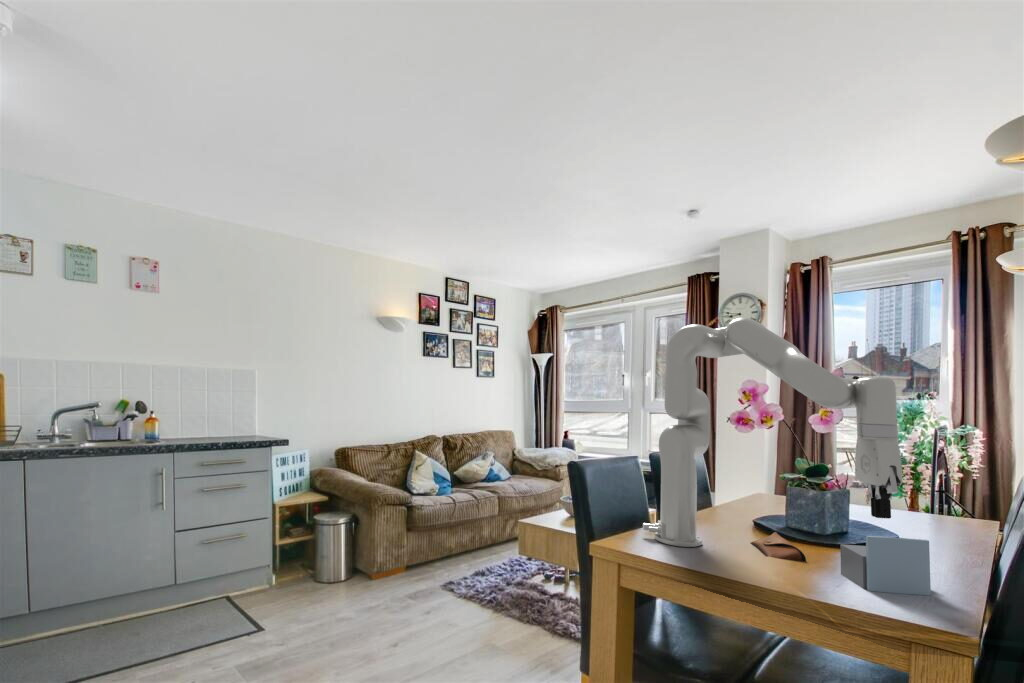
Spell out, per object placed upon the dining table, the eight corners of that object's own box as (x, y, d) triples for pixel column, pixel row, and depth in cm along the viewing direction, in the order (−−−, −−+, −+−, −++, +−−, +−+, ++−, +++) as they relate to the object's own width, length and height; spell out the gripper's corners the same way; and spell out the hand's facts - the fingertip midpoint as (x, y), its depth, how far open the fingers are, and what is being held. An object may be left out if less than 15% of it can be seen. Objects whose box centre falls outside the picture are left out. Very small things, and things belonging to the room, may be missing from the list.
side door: (869, 590, 110) (868, 536, 111) (866, 589, 110) (865, 535, 111) (930, 595, 108) (929, 540, 109) (928, 594, 109) (926, 539, 110)
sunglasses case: (747, 541, 147) (759, 521, 147) (769, 556, 146) (782, 536, 146) (770, 562, 129) (785, 539, 129) (796, 579, 128) (811, 556, 128)
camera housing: (863, 592, 111) (862, 556, 111) (840, 577, 120) (840, 544, 120) (937, 598, 109) (936, 561, 110) (909, 582, 118) (908, 549, 119)
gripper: (841, 430, 125) (844, 509, 123) (879, 434, 110) (883, 524, 108) (875, 431, 124) (878, 511, 122) (917, 435, 109) (922, 526, 107)
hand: (881, 517), depth 115 cm, fingers closed
